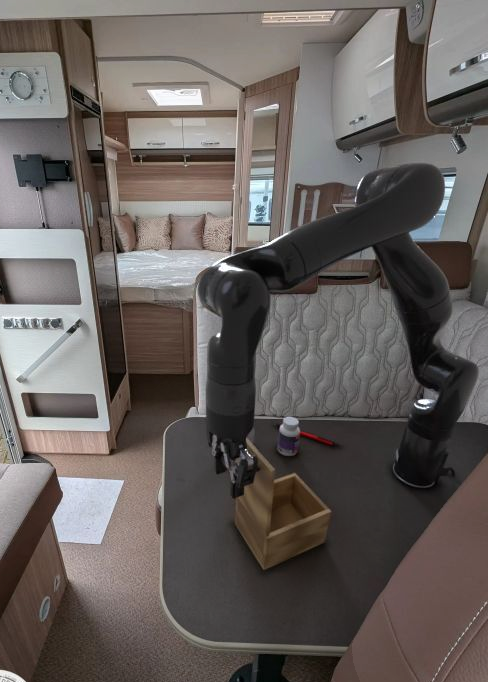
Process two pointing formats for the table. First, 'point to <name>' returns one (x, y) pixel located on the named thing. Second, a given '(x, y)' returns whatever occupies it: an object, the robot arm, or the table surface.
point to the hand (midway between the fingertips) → (228, 482)
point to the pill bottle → (288, 437)
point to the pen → (315, 437)
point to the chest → (286, 523)
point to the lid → (258, 490)
